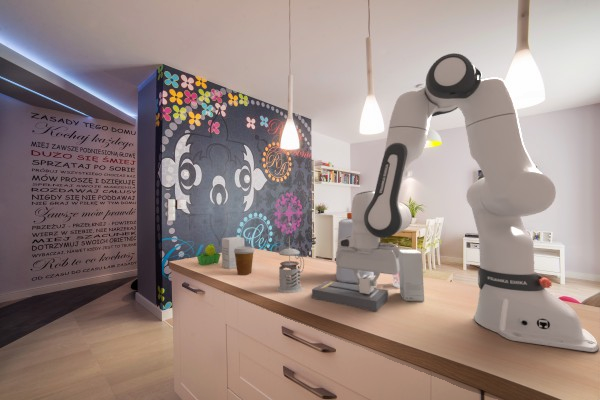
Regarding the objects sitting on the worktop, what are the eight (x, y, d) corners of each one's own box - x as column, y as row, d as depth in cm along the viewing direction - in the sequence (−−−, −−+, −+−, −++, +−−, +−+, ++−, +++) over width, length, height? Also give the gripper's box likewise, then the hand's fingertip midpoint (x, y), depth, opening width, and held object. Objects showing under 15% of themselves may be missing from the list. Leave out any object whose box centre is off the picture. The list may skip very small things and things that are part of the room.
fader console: (387, 299, 87) (387, 289, 88) (376, 311, 77) (376, 300, 78) (328, 288, 100) (328, 279, 100) (312, 298, 90) (312, 288, 90)
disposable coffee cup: (233, 271, 127) (233, 246, 127) (253, 270, 130) (253, 245, 130) (234, 276, 118) (234, 249, 118) (256, 274, 121) (255, 248, 121)
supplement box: (237, 263, 144) (237, 236, 144) (245, 266, 137) (245, 237, 138) (221, 266, 138) (221, 237, 139) (228, 269, 131) (228, 239, 132)
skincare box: (424, 302, 84) (423, 253, 85) (402, 301, 86) (401, 252, 86) (418, 293, 93) (417, 249, 93) (398, 292, 94) (397, 248, 94)
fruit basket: (216, 261, 153) (216, 241, 153) (222, 263, 146) (222, 243, 146) (195, 264, 145) (195, 243, 146) (201, 266, 138) (201, 245, 139)
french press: (271, 288, 100) (270, 222, 101) (294, 282, 108) (294, 221, 108) (287, 295, 93) (286, 223, 93) (311, 288, 100) (310, 222, 101)
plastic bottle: (373, 285, 102) (371, 213, 103) (334, 282, 107) (333, 213, 107) (374, 275, 116) (373, 212, 117) (340, 273, 121) (339, 212, 122)
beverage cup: (411, 288, 99) (410, 250, 99) (394, 288, 99) (393, 250, 99) (404, 283, 105) (404, 247, 105) (389, 283, 105) (388, 248, 105)
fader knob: (373, 289, 87) (373, 275, 87) (368, 294, 82) (368, 279, 82) (365, 288, 88) (364, 274, 88) (359, 292, 84) (359, 277, 84)
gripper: (401, 242, 83) (402, 287, 82) (341, 238, 94) (341, 277, 93) (396, 245, 77) (397, 292, 77) (333, 240, 88) (334, 282, 88)
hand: (366, 284), depth 85 cm, fingers closed on fader knob, 3 cm apart
